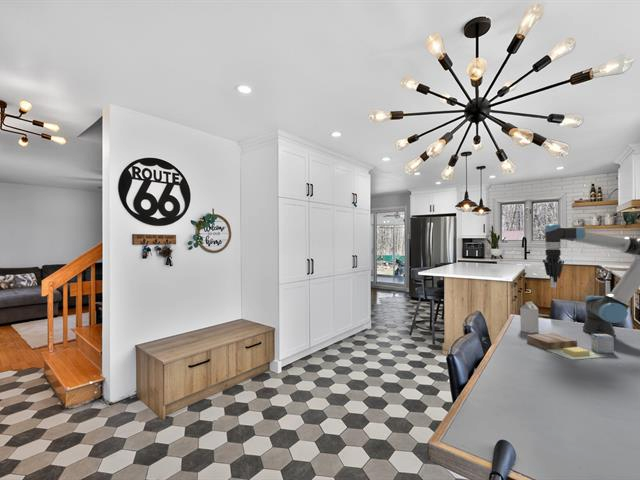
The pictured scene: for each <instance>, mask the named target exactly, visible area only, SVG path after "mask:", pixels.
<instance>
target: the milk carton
mask: <svg viewBox="0 0 640 480" xmlns="http://www.w3.org/2000/svg"><path fill="white" fill-rule="evenodd" d="M519 309H520V312H519V315H520V320H519V321H520V331H521V332H525V333H530V334H536V333H539V332H540V331H539V324H540V323H539V307H537V306H536V305H535V304H534V303H533V301H527V302H526V301H525V304H523V305H522V306H521V307H519Z"/></svg>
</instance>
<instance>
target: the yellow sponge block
mask: <svg viewBox="0 0 640 480" xmlns="http://www.w3.org/2000/svg"><path fill="white" fill-rule="evenodd" d="M590 351H591V350H589V349H585V348H582V347H580V346H577V347H571V348H563V352H565V353H568V354H570V355H573V356H581V355H590Z"/></svg>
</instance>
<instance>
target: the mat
mask: <svg viewBox="0 0 640 480" xmlns="http://www.w3.org/2000/svg"><path fill="white" fill-rule="evenodd" d="M546 351H547V352H550V353H553V354H555V355H558V356H561V357H563V358H565V359H568V360H571V361H576V360H588V359H601V358H602V359H603V358H607V356H606V355H603V354H601V353H597V352H595V351H592V350H589V351H590V355H581V356H573V355H570V354H568V353H565V352H563V349H550V350H547V349H546Z"/></svg>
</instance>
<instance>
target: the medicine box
mask: <svg viewBox="0 0 640 480" xmlns="http://www.w3.org/2000/svg"><path fill="white" fill-rule="evenodd" d="M590 335H591V336H590V339H591V342H590V343H591V344H590V345H591V351H592V352H594V353H597V354H601V353H602V354H604V353H605V354H607V353H608V354H609V353H610V354H613V353H614V352H615V350H614V349H615V347H614V343H615V342H614V341H615V340H614V339H615V338H614V336H611V335H608V334H590Z"/></svg>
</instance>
